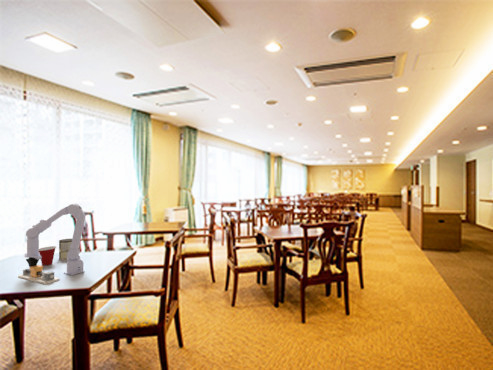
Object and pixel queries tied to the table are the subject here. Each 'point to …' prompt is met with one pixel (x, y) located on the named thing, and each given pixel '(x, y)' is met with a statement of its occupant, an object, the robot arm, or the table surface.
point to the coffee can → (64, 248)
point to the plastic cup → (47, 255)
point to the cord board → (39, 277)
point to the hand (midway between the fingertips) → (32, 269)
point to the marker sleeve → (35, 270)
